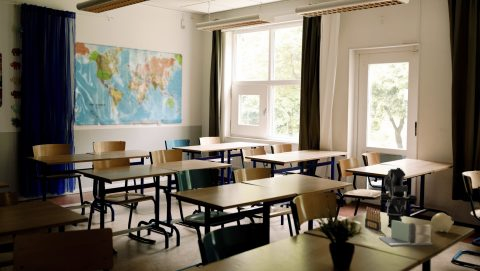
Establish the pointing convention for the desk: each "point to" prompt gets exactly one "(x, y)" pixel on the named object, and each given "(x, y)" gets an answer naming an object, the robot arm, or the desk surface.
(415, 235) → the fixed fence panel
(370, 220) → the ammunition clip
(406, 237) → the panel
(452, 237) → the desk surface
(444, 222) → the cream rounded piece
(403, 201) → the robot arm
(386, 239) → the card
